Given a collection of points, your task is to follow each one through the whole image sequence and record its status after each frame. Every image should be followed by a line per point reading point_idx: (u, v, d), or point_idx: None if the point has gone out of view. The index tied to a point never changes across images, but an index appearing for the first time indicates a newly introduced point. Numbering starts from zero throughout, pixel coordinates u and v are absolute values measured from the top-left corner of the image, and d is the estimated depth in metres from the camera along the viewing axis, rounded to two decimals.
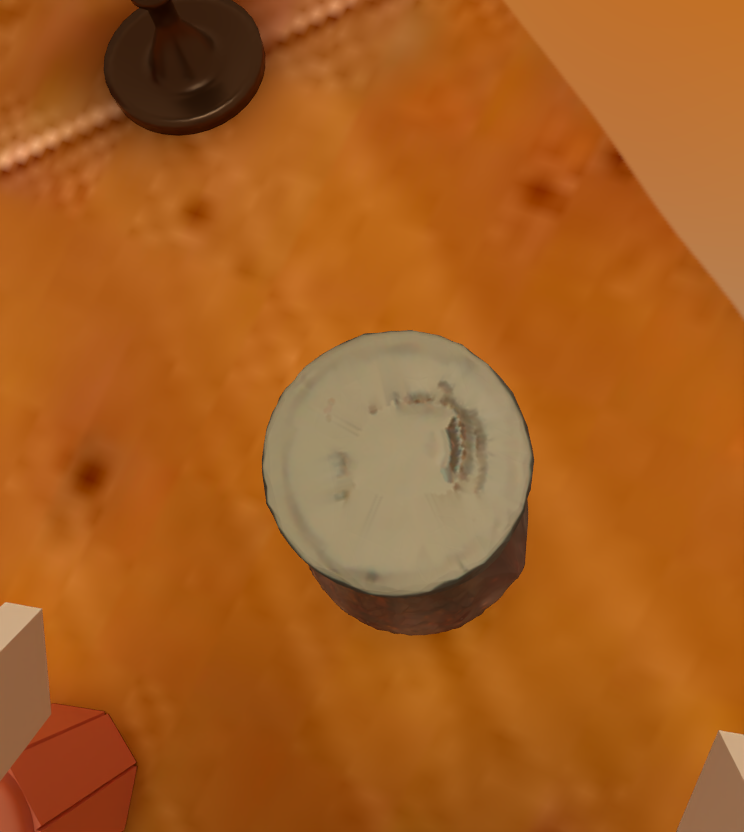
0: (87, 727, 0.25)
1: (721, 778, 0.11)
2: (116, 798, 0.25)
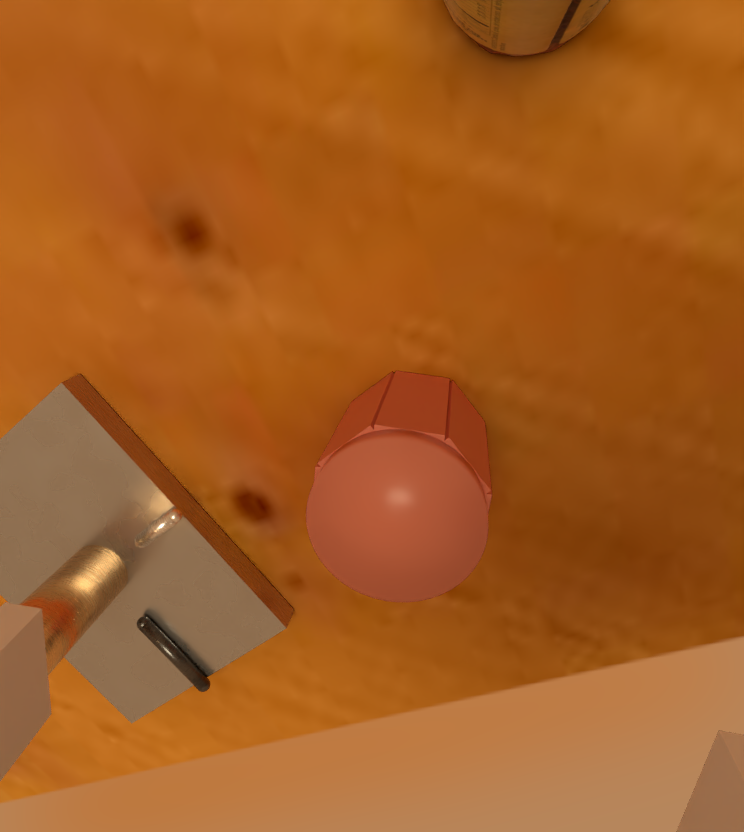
0: (395, 383, 0.26)
1: (721, 778, 0.11)
2: (462, 404, 0.26)
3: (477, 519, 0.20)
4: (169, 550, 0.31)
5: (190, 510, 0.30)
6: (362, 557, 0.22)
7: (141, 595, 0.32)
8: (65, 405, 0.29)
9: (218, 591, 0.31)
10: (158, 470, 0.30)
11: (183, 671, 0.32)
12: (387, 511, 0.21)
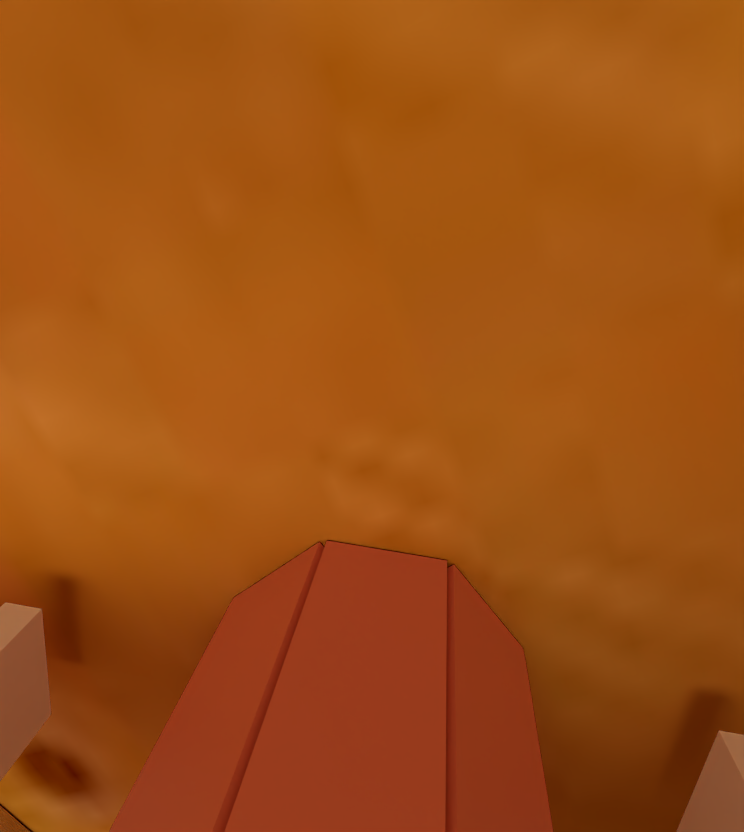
0: (316, 601, 0.10)
1: (721, 778, 0.11)
2: (480, 644, 0.11)
3: None
4: None
5: None
6: None
7: None
8: None
9: None
10: None
11: None
12: None
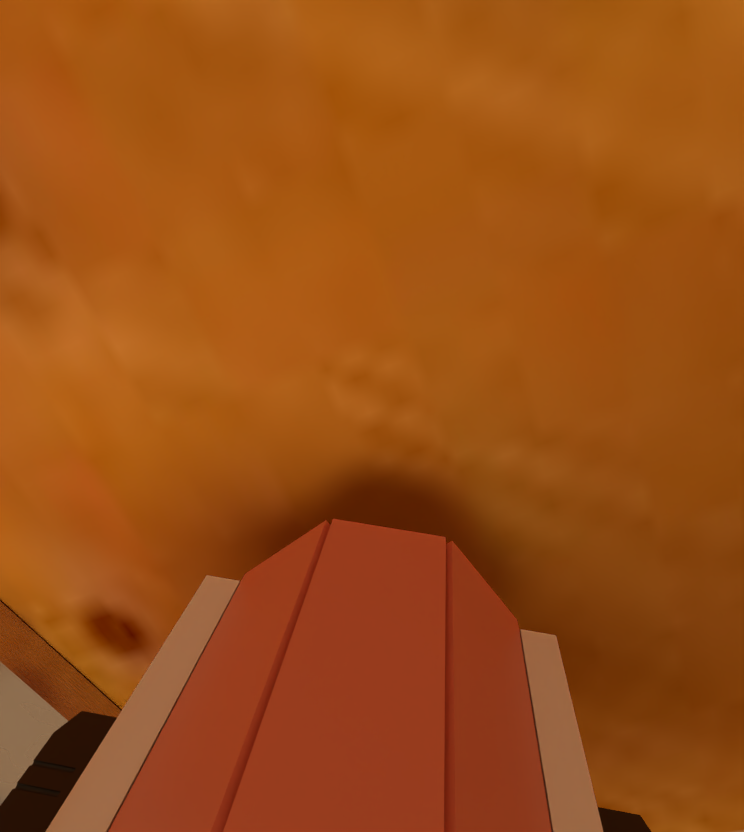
0: (324, 572, 0.11)
1: None
2: (476, 612, 0.12)
3: None
4: None
5: (13, 645, 0.19)
6: None
7: None
8: None
9: None
10: None
11: None
12: None
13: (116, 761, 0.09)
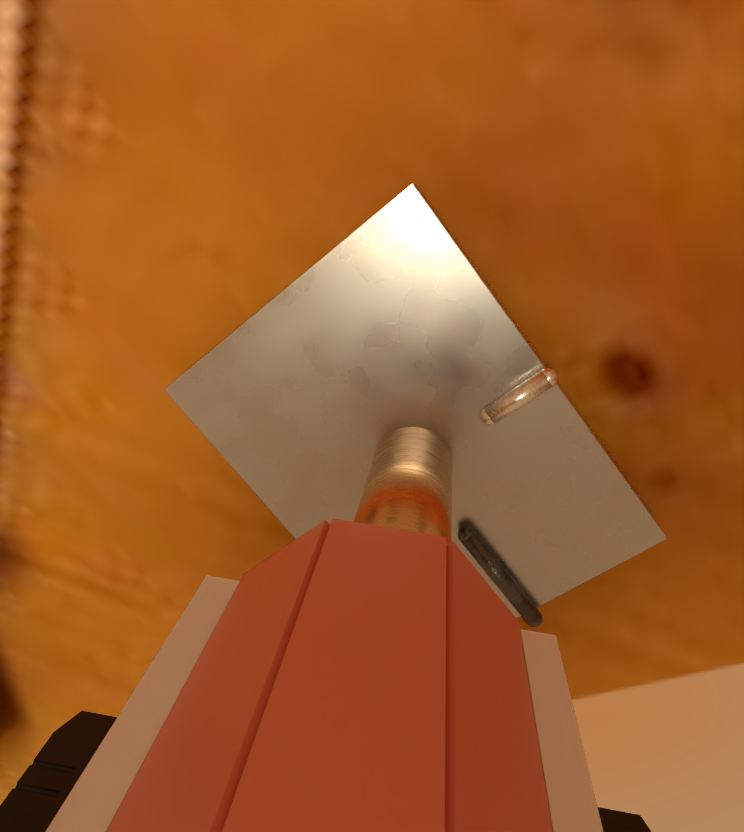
0: (323, 572, 0.11)
1: None
2: (477, 613, 0.12)
3: None
4: (521, 431, 0.23)
5: None
6: None
7: (465, 497, 0.24)
8: (411, 218, 0.21)
9: (579, 488, 0.23)
10: (512, 321, 0.22)
11: (515, 599, 0.24)
12: None
13: (116, 761, 0.09)
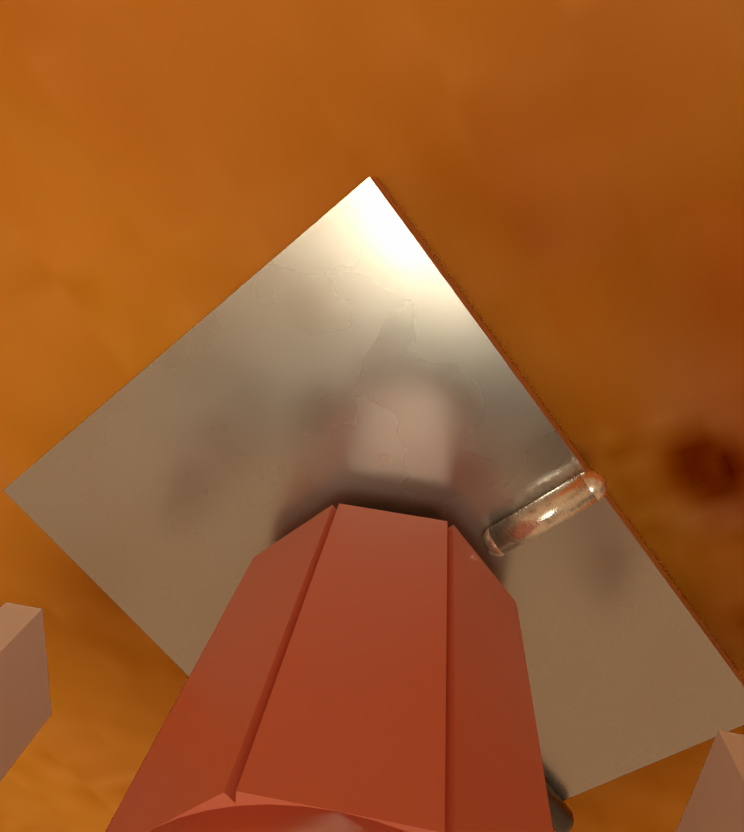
0: (331, 552, 0.12)
1: (721, 778, 0.11)
2: (476, 591, 0.12)
3: None
4: (545, 561, 0.15)
5: None
6: None
7: None
8: (369, 234, 0.13)
9: (633, 643, 0.15)
10: (532, 392, 0.14)
11: None
12: None
13: None
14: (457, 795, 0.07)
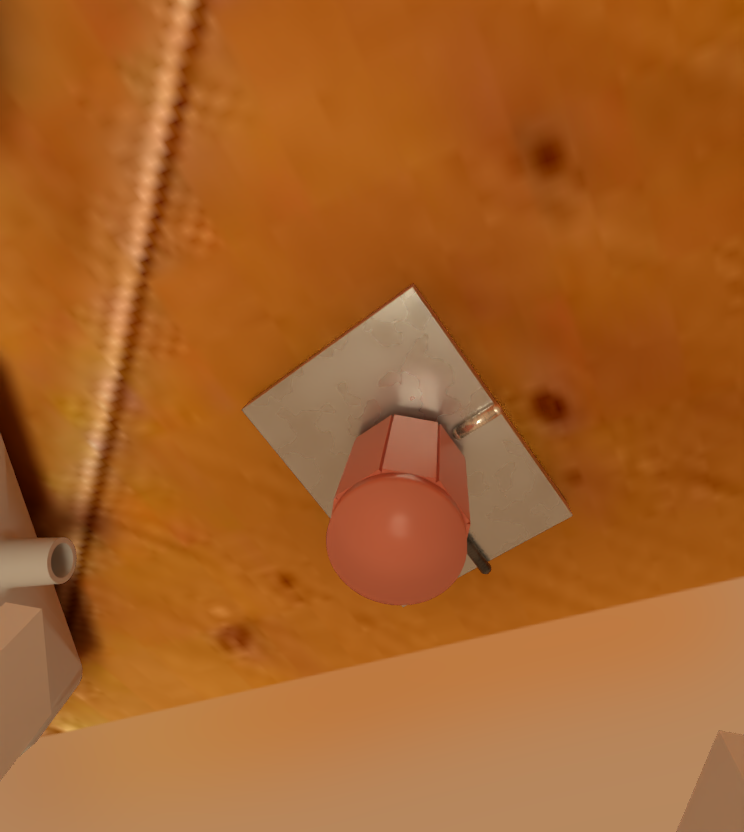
0: (394, 427, 0.32)
1: (721, 778, 0.11)
2: (448, 445, 0.32)
3: (459, 544, 0.27)
4: (478, 443, 0.35)
5: None
6: (368, 570, 0.28)
7: None
8: (411, 308, 0.32)
9: (516, 481, 0.35)
10: (474, 372, 0.34)
11: (473, 554, 0.36)
12: (389, 536, 0.27)
13: None
14: (439, 475, 0.27)
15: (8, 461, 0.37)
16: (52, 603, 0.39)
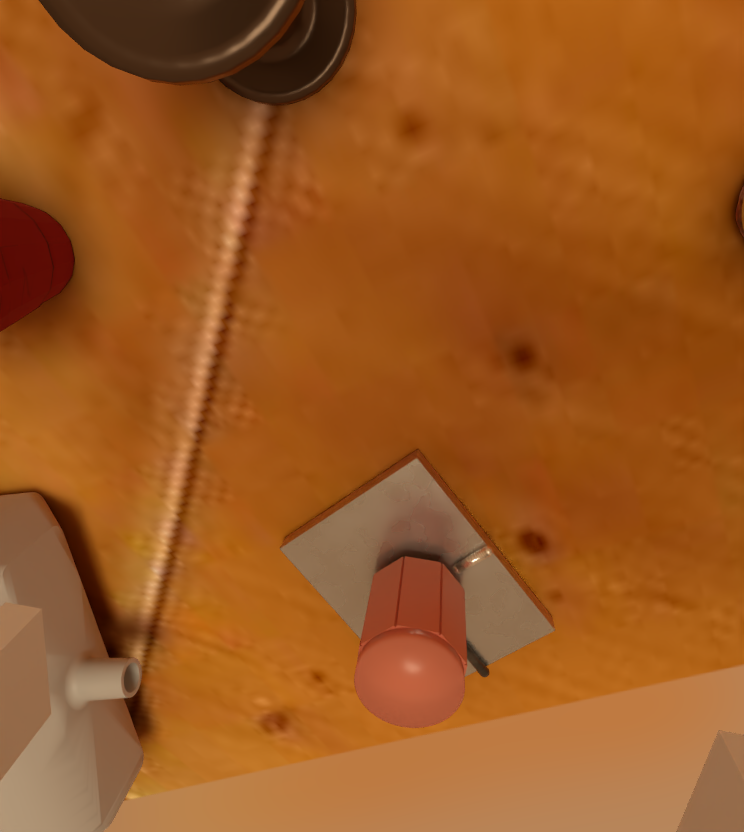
0: (405, 573, 0.39)
1: (721, 778, 0.11)
2: (449, 585, 0.40)
3: (458, 683, 0.34)
4: (475, 575, 0.42)
5: (491, 546, 0.42)
6: (388, 702, 0.35)
7: None
8: (416, 473, 0.40)
9: (507, 603, 0.43)
10: (469, 517, 0.42)
11: (473, 662, 0.44)
12: (404, 677, 0.35)
13: None
14: (442, 627, 0.35)
15: (84, 593, 0.45)
16: (119, 703, 0.47)
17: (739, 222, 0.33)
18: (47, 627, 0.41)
